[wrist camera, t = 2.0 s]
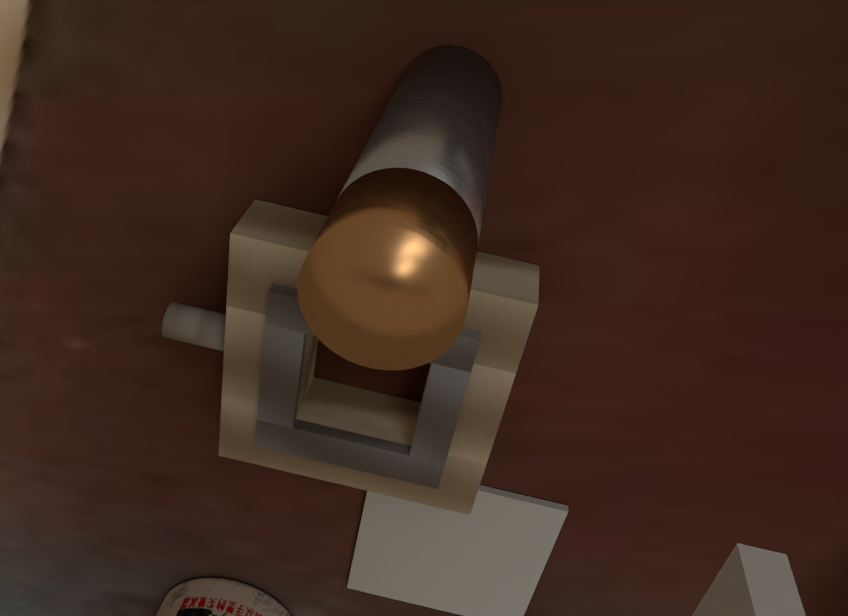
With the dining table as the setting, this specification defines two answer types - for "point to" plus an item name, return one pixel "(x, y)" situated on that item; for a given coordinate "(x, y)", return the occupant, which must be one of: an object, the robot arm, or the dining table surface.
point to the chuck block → (347, 405)
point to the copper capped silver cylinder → (408, 219)
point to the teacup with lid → (219, 600)
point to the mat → (456, 552)
